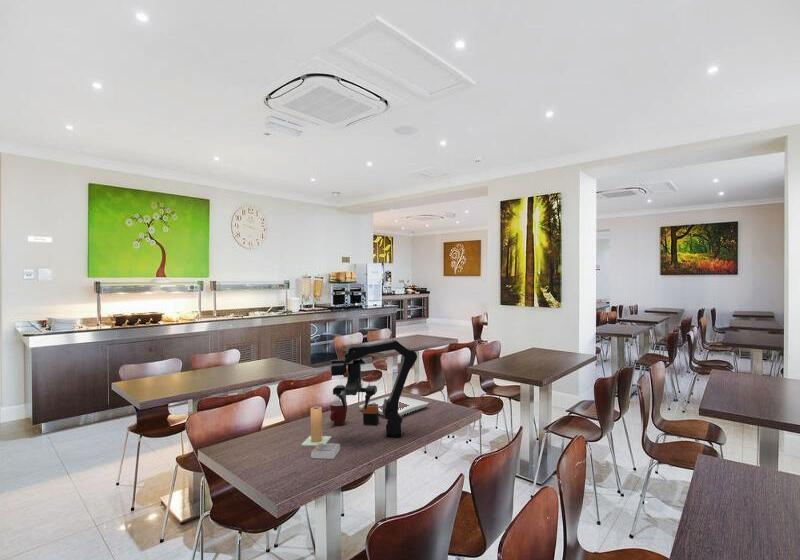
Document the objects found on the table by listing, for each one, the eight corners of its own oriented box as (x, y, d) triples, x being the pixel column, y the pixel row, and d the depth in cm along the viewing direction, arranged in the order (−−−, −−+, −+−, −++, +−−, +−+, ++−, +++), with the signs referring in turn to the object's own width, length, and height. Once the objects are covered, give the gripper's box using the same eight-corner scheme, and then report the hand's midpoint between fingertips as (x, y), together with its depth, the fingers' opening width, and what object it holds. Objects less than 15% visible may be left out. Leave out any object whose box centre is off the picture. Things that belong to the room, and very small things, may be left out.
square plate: (429, 408, 229) (429, 401, 229) (394, 422, 209) (393, 414, 209) (393, 400, 248) (393, 393, 248) (357, 412, 228) (357, 404, 228)
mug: (340, 429, 202) (339, 407, 202) (325, 427, 205) (324, 406, 205) (350, 421, 212) (349, 401, 212) (335, 420, 214) (335, 400, 214)
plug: (324, 439, 188) (324, 406, 188) (316, 443, 184) (316, 409, 184) (316, 437, 190) (316, 404, 190) (308, 441, 186) (308, 407, 186)
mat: (331, 437, 191) (331, 436, 191) (323, 446, 181) (323, 445, 181) (309, 437, 193) (309, 435, 193) (301, 445, 183) (301, 444, 183)
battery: (376, 425, 205) (376, 404, 205) (363, 425, 206) (362, 404, 206) (379, 422, 209) (378, 402, 209) (365, 422, 211) (365, 401, 211)
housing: (340, 449, 177) (339, 443, 177) (333, 458, 168) (333, 452, 168) (319, 449, 178) (319, 443, 178) (311, 458, 169) (311, 452, 169)
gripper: (328, 378, 182) (329, 415, 182) (371, 378, 179) (372, 415, 179) (336, 372, 193) (337, 407, 193) (376, 372, 190) (377, 407, 190)
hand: (355, 409), depth 188 cm, fingers open, 9 cm apart
